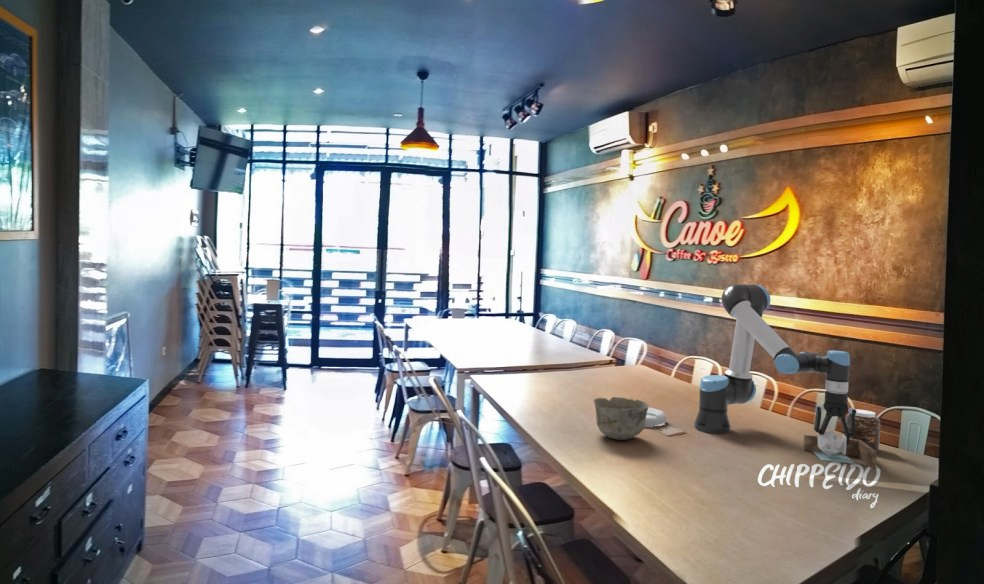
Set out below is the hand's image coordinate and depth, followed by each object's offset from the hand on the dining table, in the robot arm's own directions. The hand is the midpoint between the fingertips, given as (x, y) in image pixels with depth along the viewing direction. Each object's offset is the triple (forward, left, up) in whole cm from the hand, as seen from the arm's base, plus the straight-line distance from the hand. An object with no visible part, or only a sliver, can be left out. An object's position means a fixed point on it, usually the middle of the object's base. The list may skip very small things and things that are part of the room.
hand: (833, 452), depth 223 cm
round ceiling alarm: (-70, +28, -3) cm, 76 cm away
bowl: (-79, -3, -2) cm, 80 cm away
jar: (+16, +18, -2) cm, 24 cm away
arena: (+2, -1, -2) cm, 3 cm away
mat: (0, 0, -2) cm, 2 cm away
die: (-2, -1, -2) cm, 3 cm away
